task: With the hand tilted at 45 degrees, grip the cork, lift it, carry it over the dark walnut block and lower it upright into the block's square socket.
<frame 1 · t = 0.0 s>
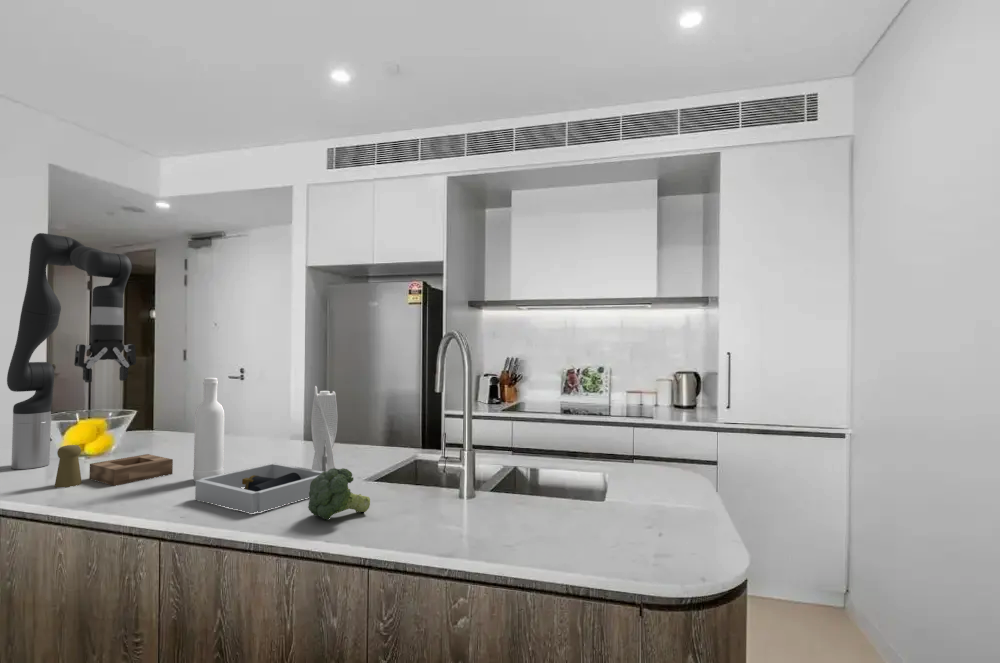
hand: (105, 381, 151), 29 cm above the worktop, tool pointing down, fingers open, 8 cm apart
skyscraper: (322, 481, 160), on the worktop
bottle: (208, 480, 159), on the worktop
tray rim: (264, 495, 144), on the worktop
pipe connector: (265, 497, 144), resting in tray rim
socket block: (131, 476, 161), on the worktop
cork: (68, 485, 152), on the worktop
vegetable: (337, 517, 128), on the worktop
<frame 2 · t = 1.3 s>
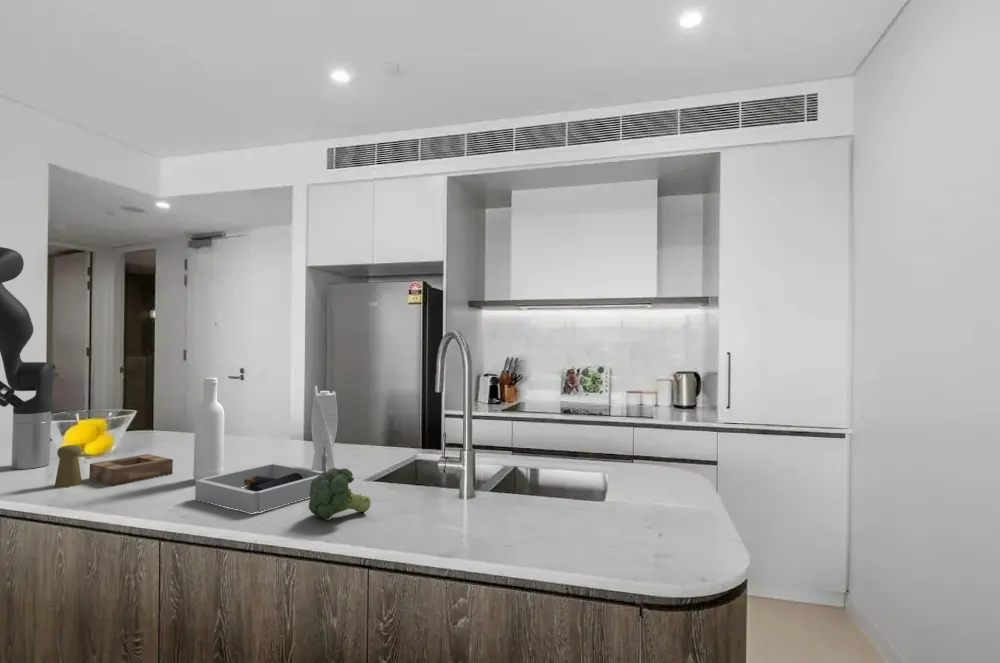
hand: (14, 405, 141), 24 cm above the worktop, tool tilted 45°, fingers open, 8 cm apart
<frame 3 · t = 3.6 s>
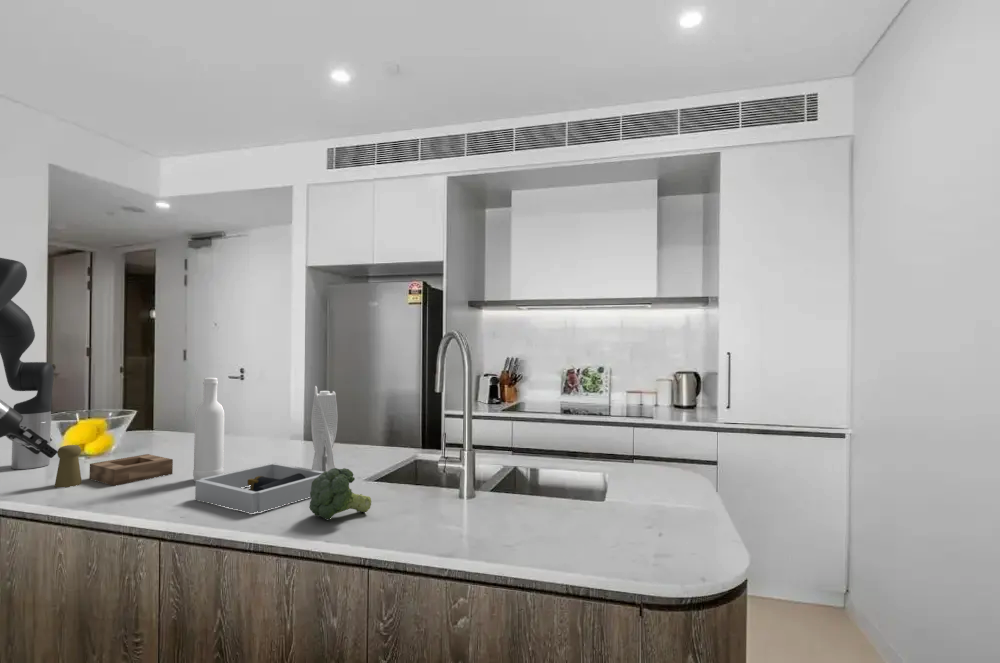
hand: (47, 453, 147), 10 cm above the worktop, tool tilted 45°, fingers open, 8 cm apart
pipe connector: (270, 498, 143), resting in tray rim
everything else where it was.
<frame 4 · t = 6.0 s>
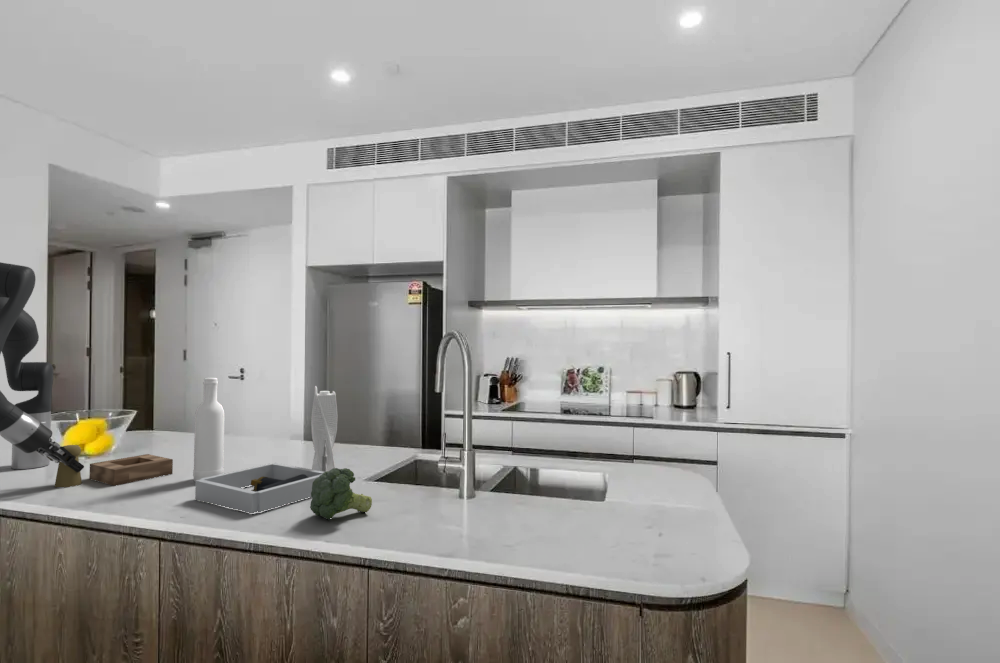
hand: (76, 468, 154), 4 cm above the worktop, tool tilted 45°, fingers closed on cork, 4 cm apart
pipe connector: (273, 499, 142), resting in tray rim
cork: (68, 485, 152), on the worktop, touching gripper
everything else where it was.
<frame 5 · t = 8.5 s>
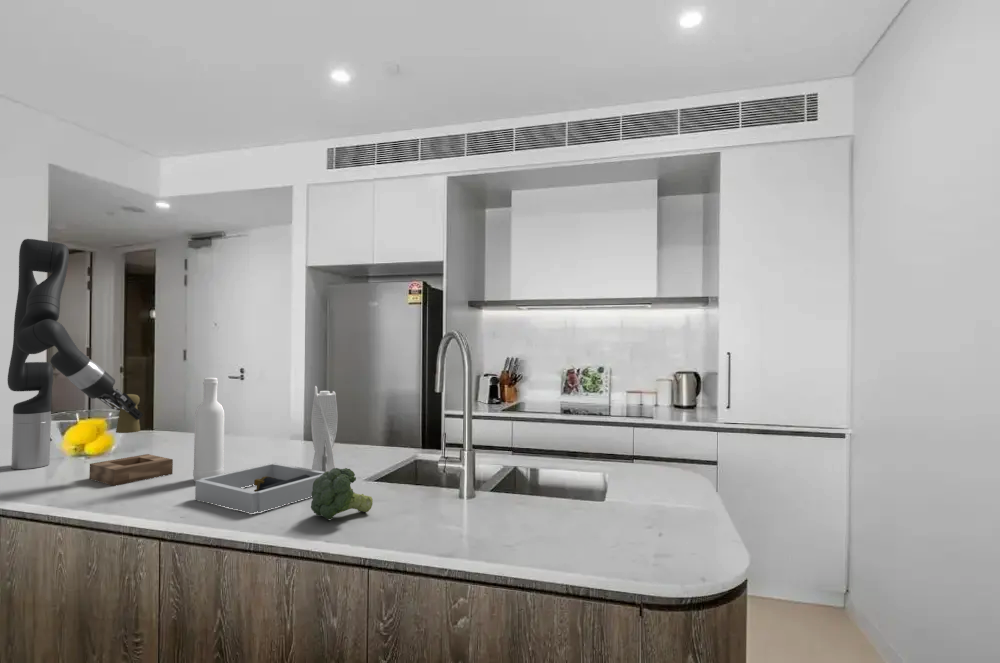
hand: (135, 416, 162), 18 cm above the worktop, tool tilted 45°, fingers closed on cork, 4 cm apart
cork: (128, 432, 161), point 13 cm above the worktop, touching gripper
when the fingers open (6 cm above the worktop, at t = 11.2 s): cork moves 1 cm, resting on socket block.
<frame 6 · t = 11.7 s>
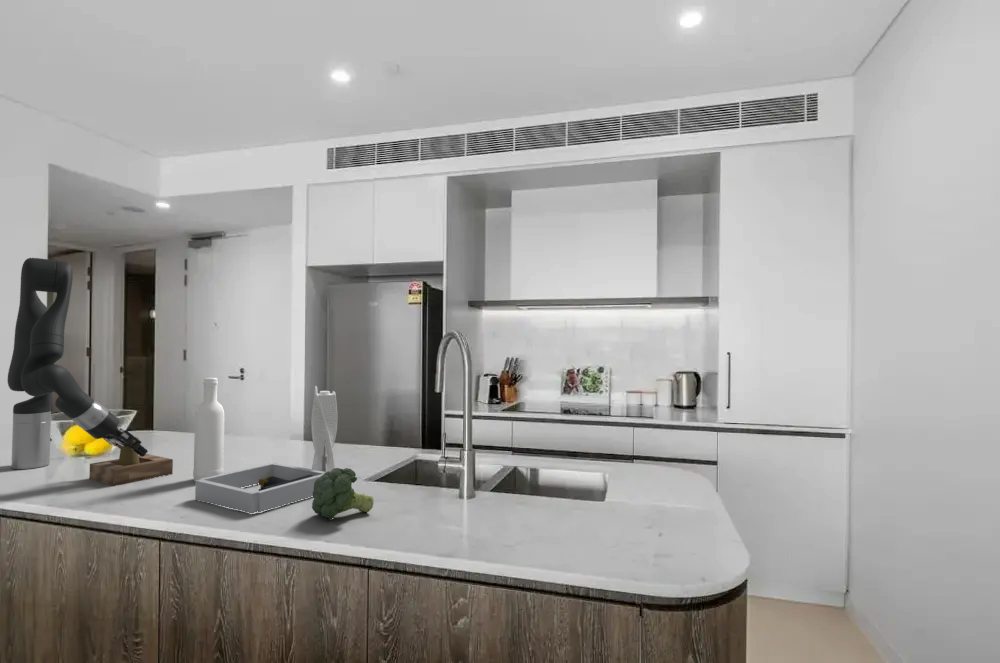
hand: (137, 452, 163), 7 cm above the worktop, tool tilted 45°, fingers open, 8 cm apart
cork: (129, 474, 160), point 1 cm above the worktop, touching socket block
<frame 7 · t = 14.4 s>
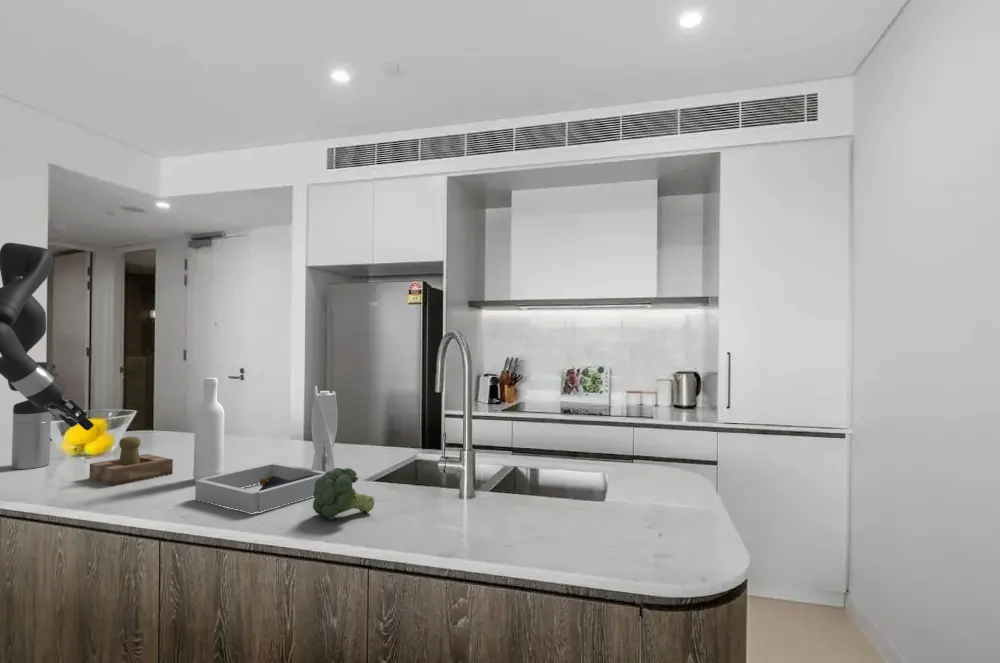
hand: (82, 426, 152), 17 cm above the worktop, tool tilted 40°, fingers open, 8 cm apart
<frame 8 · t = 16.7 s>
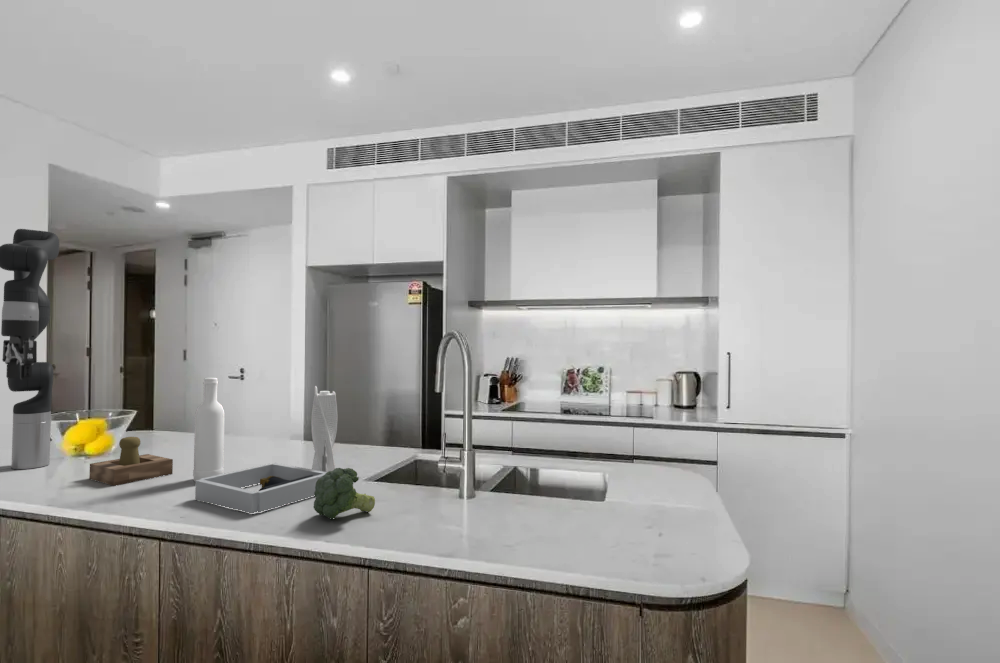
hand: (18, 378, 146), 30 cm above the worktop, tool pointing down, fingers open, 8 cm apart
at the end: cork 1.3 cm off-centre on the socket block, point 0.8 cm above the socket block's base; cork tilted 0°; the gripper is holding nothing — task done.
